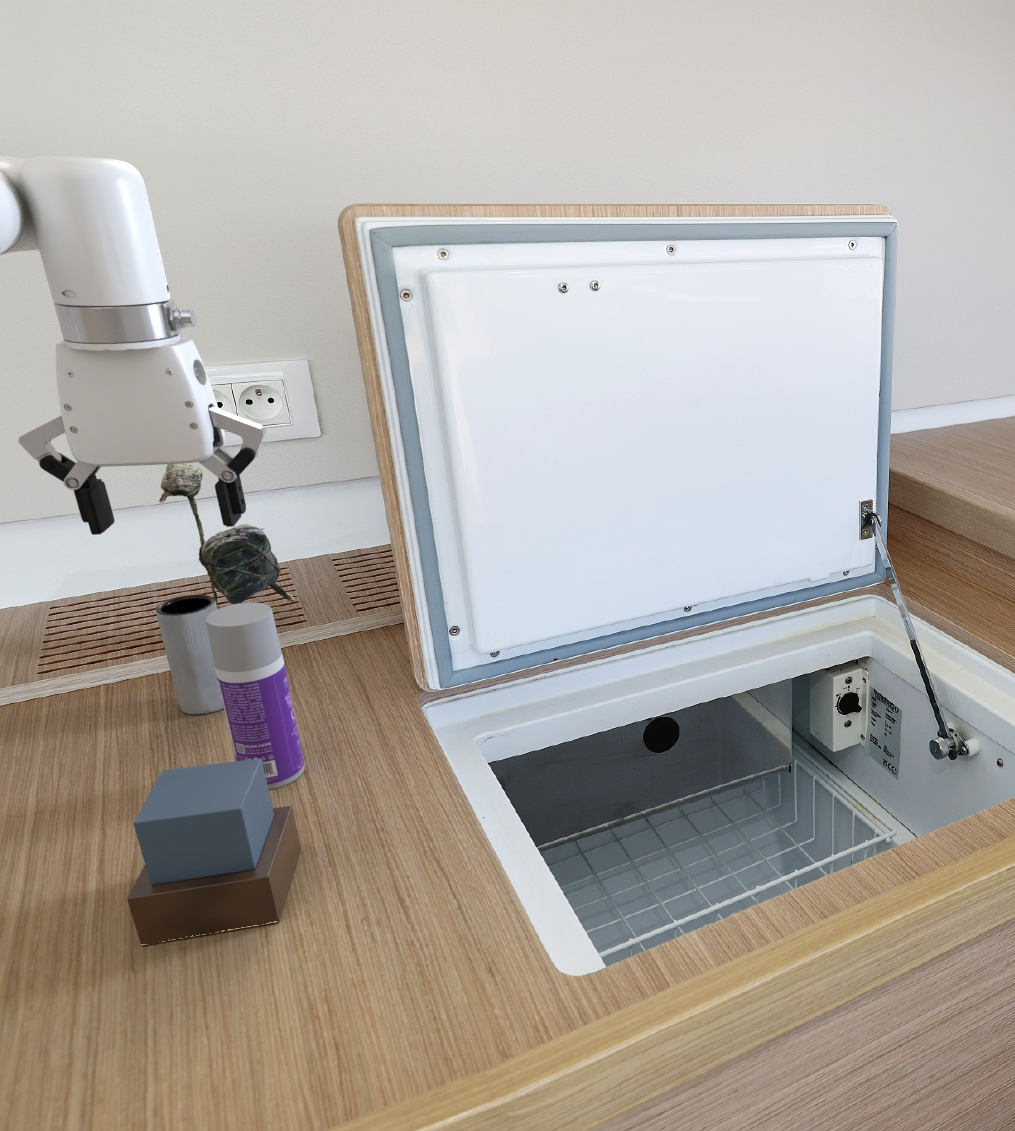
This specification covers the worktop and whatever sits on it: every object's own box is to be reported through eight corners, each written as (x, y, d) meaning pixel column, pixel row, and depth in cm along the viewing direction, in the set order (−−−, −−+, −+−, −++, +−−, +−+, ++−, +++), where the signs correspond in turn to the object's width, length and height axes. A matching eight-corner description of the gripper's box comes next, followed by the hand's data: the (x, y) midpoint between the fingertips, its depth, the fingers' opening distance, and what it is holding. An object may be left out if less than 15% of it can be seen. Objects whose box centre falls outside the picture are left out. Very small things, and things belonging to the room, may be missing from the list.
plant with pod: (297, 637, 102) (264, 459, 95) (171, 656, 97) (126, 469, 90) (297, 608, 109) (266, 439, 101) (180, 624, 104) (138, 447, 96)
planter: (220, 686, 92) (199, 590, 88) (246, 700, 90) (225, 602, 86) (170, 705, 88) (145, 606, 85) (195, 720, 86) (171, 619, 83)
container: (316, 770, 80) (286, 611, 75) (261, 797, 77) (224, 632, 71) (284, 752, 83) (252, 596, 77) (229, 778, 79) (191, 616, 73)
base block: (140, 946, 62) (126, 898, 60) (177, 867, 69) (165, 822, 67) (279, 923, 64) (268, 876, 63) (301, 848, 71) (292, 805, 70)
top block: (178, 829, 67) (162, 769, 65) (274, 815, 69) (262, 757, 67) (150, 885, 61) (132, 822, 60) (255, 869, 63) (241, 808, 61)
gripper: (254, 317, 81) (290, 505, 88) (10, 318, 76) (68, 517, 82) (231, 331, 75) (272, 533, 81) (-38, 332, 69) (29, 548, 76)
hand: (169, 525), depth 82 cm, fingers open, 9 cm apart
